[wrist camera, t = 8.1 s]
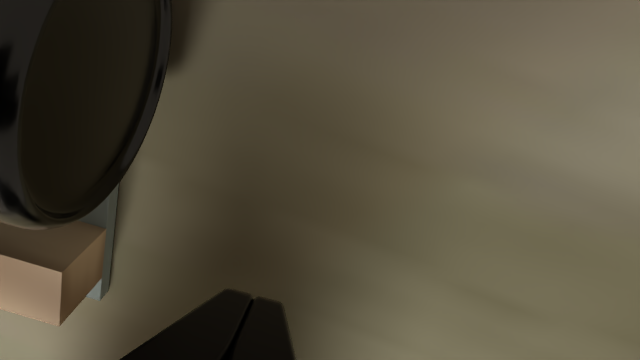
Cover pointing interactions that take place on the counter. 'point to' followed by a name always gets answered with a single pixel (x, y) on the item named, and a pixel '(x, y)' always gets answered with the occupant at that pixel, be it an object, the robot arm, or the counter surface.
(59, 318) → the cradle rails
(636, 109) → the counter surface
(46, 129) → the supplement bottle
